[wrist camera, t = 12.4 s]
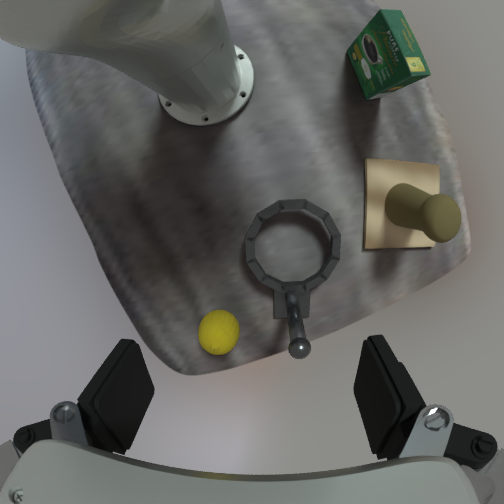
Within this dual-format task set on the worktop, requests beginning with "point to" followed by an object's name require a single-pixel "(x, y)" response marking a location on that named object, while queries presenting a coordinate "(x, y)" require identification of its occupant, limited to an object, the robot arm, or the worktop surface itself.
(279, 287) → the ring stand
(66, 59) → the worktop surface
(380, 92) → the coffee box
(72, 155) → the worktop surface
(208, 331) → the lemon
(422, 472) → the robot arm
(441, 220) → the pepper shaker
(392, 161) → the cork mat
